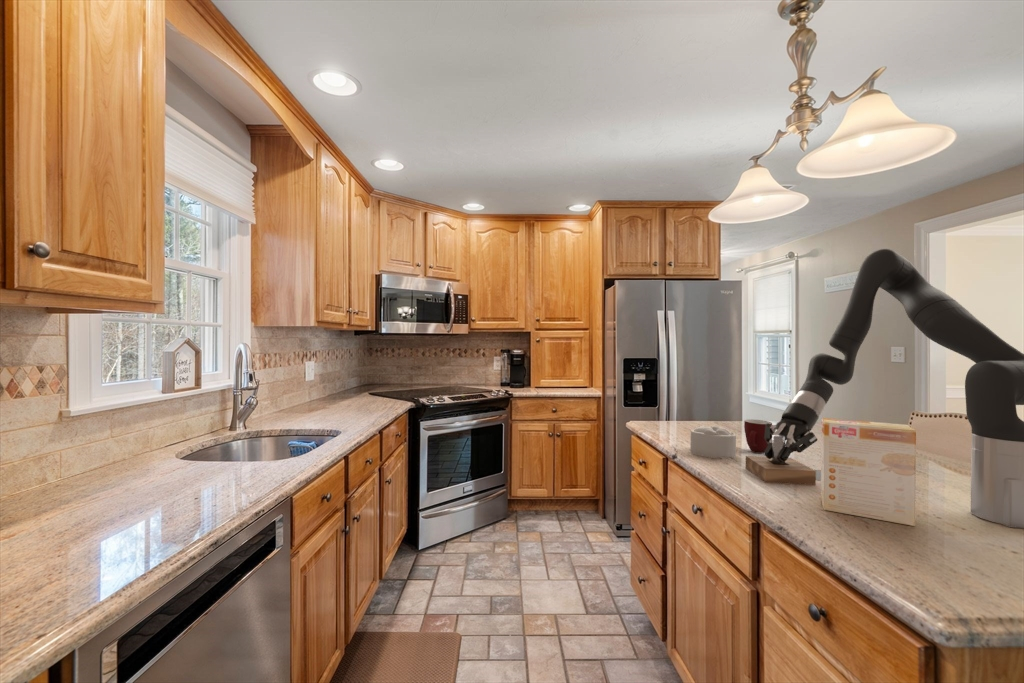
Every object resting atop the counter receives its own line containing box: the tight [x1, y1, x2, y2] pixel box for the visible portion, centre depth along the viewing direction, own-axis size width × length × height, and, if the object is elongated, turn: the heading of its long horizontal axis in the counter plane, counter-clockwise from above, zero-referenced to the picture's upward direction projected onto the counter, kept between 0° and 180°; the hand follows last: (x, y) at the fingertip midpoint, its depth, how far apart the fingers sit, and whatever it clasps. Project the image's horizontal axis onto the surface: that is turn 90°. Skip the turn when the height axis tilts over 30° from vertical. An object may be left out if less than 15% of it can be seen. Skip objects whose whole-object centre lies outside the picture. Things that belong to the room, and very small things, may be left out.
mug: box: [743, 419, 773, 454], centre depth 138 cm, size 11×8×10 cm
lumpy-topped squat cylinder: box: [689, 425, 737, 460], centre depth 136 cm, size 10×13×9 cm
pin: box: [772, 434, 786, 465], centre depth 112 cm, size 3×3×10 cm
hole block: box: [745, 455, 817, 486], centre depth 112 cm, size 12×12×4 cm
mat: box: [814, 469, 821, 482], centre depth 114 cm, size 10×8×1 cm
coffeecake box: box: [820, 417, 917, 527], centre depth 90 cm, size 15×7×20 cm, turn 58°
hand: (773, 458), depth 112 cm, fingers closed on pin, 3 cm apart
